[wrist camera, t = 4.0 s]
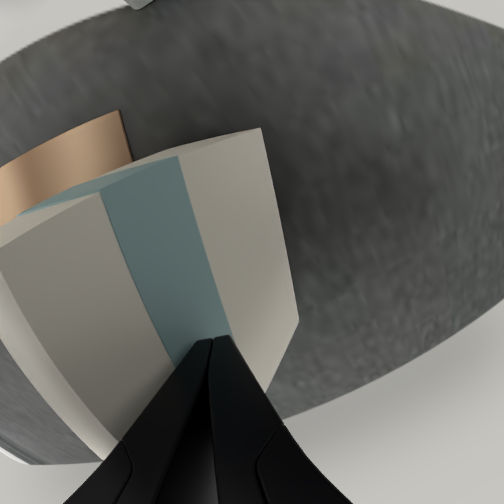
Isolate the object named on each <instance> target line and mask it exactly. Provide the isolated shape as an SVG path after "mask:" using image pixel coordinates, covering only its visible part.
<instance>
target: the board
mask: <svg viewBox="0 0 504 504" xmlns="http://www.w3.org/2000/svg"><path fill="white" fill-rule="evenodd" d="M132 162H133V159H132V155H131V152H130V148H129V145H128V141H127V137H126V134H125V130H124V126H123V122H122V118H121V115H120V111H119V110H116V111H113V112H111V113H108V114H106V115H103V116H101V117H99V118H96V119H94V120H92V121H89V122H87V123H85V124H82V125H80V126H78V127H76V128H74V129H71V130H69V131H67V132H65V133H63V134H61V135H59V136H57V137H55V138H53V139H51V140H49V141H47V142H45V143H43V144H41V145H39V146H37V147H36V148H34V149H32V150H30V151H28V152H26V153H25V154H23V155H21V156H19V157H18V158H16V159H14V160H13V161H11V162H9V163H7V164H6V165H4V166H3V167H1V168H0V227H1V226H2V225H4V224H6V223H7V222H9V221H11V220H13V219H14V218H16V217H17V216H16V215H18V214H20V213H22V212H23V211H25V210H27V209H29V208H31V207H33V206H35V205H37V204H39V203H40V202H42V201H44V200H46V199H48V198H50V197H52V196H54V195H56V194H58V193H60V192H62V191H65V190H67V189H69V188H71V187H73V186H75V185H78V184H81V183H84V182H87V181H90V180H92V179H94V178H96V177H99V176H101V175H103V174H106V173H108V172H110V171H113V170H115V169H117V168H120V167H122V166H125V165H127V164H130V163H132Z"/></svg>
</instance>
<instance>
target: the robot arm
mask: <svg viewBox="0 0 504 504" xmlns="http://www.w3.org/2000/svg"><path fill="white" fill-rule="evenodd" d="M63 504H353V503H352V502H351V501H350V500H348V498H346V497H345V496H344V495H343V494H342V493H341V492H340V491H339V490H338V489H337V488H336V487H335V486H334V485H333V484H332V483H331V482H330V481H329V480H328V479H327V478H326V477H325V476H324V475H323V474H322V473H321V472H320V471H319V469H318V468H317V467H316V466H315V465H314V464H313V463H312V462H311V461H310V459H309V458H308V457H307V456H306V455H305V453H304V452H303V450H302V449H301V448H300V447H299V445H298V444H297V442H296V441H295V440H294V438H293V437H292V435H291V434H290V432H289V430H288V429H287V427H286V426H285V425H284V423H283V421H282V420H281V418H280V417H279V415H278V413H277V412H276V410H275V409H274V407H273V405H272V404H271V402H270V401H269V399H268V397H267V396H266V394H265V393H264V391H263V389H262V388H261V386H260V384H259V383H258V381H257V379H256V378H255V376H254V374H253V373H252V371H251V369H250V368H249V366H248V364H247V363H246V361H245V359H244V358H243V356H242V354H241V353H240V351H239V349H238V347H237V346H236V344H235V342H234V340H233V339H232V337H231V336H230V335H229V334H227V335H222V336H217V337H215V338H214V339H213V338H206V339H201V340H197V341H196V342H195V343H194V344H193V346H192V347H191V348H190V350H189V351H188V352H187V354H186V355H185V356H184V358H183V359H182V360H181V362H180V363H179V364H178V366H177V367H176V368H175V369H174V371H173V372H172V373H171V375H170V376H169V377H168V379H167V380H166V381H165V383H164V384H163V385H162V386H161V388H160V389H159V390H158V392H157V393H156V394H155V396H154V397H153V398H152V400H151V401H150V402H149V403H148V405H147V406H146V407H145V409H144V410H143V411H142V413H141V414H140V415H139V416H138V418H137V419H136V420H135V422H134V423H133V424H132V426H131V427H130V428H129V429H128V431H127V432H126V433H125V435H124V436H123V437H122V440H120V441H119V442H118V443H117V445H116V446H115V447H114V449H113V450H112V451H111V452H110V454H109V455H108V456H107V457H106V459H105V460H104V461H103V462H102V463H101V465H100V466H99V467H98V468H97V469H96V470H95V471H94V473H93V474H92V475H91V476H90V477H89V478H88V479H87V480H86V481H85V482H84V483H83V484H82V485H81V486H80V487H79V488H78V489H77V490H76V491H75V492H74V493H73V494H72V495H71V496H70V497H69V498H68V499H67V500H66V501H65V502H64V503H63Z"/></svg>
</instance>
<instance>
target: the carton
mask: <svg viewBox="0 0 504 504" xmlns="http://www.w3.org/2000/svg"><path fill="white" fill-rule="evenodd" d="M16 216H17V217H16V218H14V219H13V220H11V221H9V222H7V223H6V224H4V225H2V226H1V227H0V339H1V341H2V342H3V344H4V345H5V347H6V348H7V350H8V351H9V353H10V354H11V356H12V357H13V359H14V360H15V361H16V363H17V364H18V366H19V367H20V368H21V370H22V371H23V373H24V374H25V375H26V377H27V378H28V379H29V381H30V382H31V383H32V384H33V386H34V387H35V388H36V390H37V391H38V392H39V393H40V394H41V396H42V397H43V398H44V399H45V401H46V402H47V403H48V404H49V405H50V406H51V408H52V409H53V410H54V411H55V412H56V413H57V414H58V416H59V417H60V418H61V419H62V420H63V421H64V422H65V423H66V424H67V425H68V426H69V428H70V429H71V430H72V431H73V432H74V433H75V434H76V435H77V436H78V437H79V438H80V439H81V440H82V441H83V442H84V443H85V444H86V445H87V446H88V447H89V448H90V449H91V450H92V451H94V452H95V453H96V454H97V455H98V456H99V457H100V458H101V459H102V460H103V461H104V460H105V459H106V457H107V456H108V455H109V454H110V452H111V451H112V450H113V449H114V447H115V446H116V445H117V443H118V442H119V441H120V440H122V437H123V436H124V435H125V433H126V432H127V431H128V429H129V428H130V427H131V426H132V424H133V423H134V422H135V420H136V419H137V418H138V416H139V415H140V414H141V413H142V411H143V410H144V409H145V407H146V406H147V405H148V403H149V402H150V401H151V400H152V398H153V397H154V396H155V394H156V393H157V392H158V390H159V389H160V388H161V386H162V385H163V384H164V383H165V381H166V380H167V379H168V377H169V376H170V375H171V373H172V372H173V371H174V369H175V368H176V367H177V366H178V364H179V363H180V362H181V360H182V359H183V358H184V356H185V355H186V354H187V352H188V351H189V350H190V348H191V347H192V346H193V344H194V343H195V342H196V341H197V340H201V339H206V338H213V339H214V338H215V337H217V336H222V335H227V334H229V335H230V336H231V337H232V339H233V340H234V342H235V344H236V346H237V347H238V349H239V351H240V353H241V354H242V356H243V358H244V359H245V361H246V363H247V364H248V366H249V368H250V369H251V371H252V373H253V374H254V376H255V378H256V379H257V381H258V383H259V384H260V386H261V388H262V389H263V391H264V393H265V392H266V390H267V388H268V386H269V384H270V382H271V380H272V378H273V376H274V374H275V372H276V370H277V368H278V366H279V364H280V362H281V359H282V357H283V355H284V353H285V351H286V349H287V347H288V345H289V342H290V340H291V338H292V336H293V334H294V331H295V329H296V327H297V325H298V323H299V316H298V311H297V305H296V300H295V294H294V289H293V283H292V278H291V272H290V267H289V262H288V256H287V251H286V246H285V241H284V236H283V231H282V226H281V221H280V216H279V211H278V206H277V201H276V196H275V191H274V187H273V182H272V177H271V173H270V168H269V163H268V159H267V154H266V150H265V145H264V141H263V136H262V132H261V128H256V129H251V130H246V131H241V132H236V133H231V134H227V135H222V136H218V137H213V138H209V139H205V140H201V141H197V142H193V143H189V144H185V145H181V146H177V147H173V148H170V149H167V150H164V151H161V152H158V153H156V154H153V155H150V156H148V157H145V158H142V159H140V160H137V161H135V162H132V163H130V164H127V165H125V166H122V167H120V168H117V169H115V170H113V171H110V172H108V173H106V174H103V175H101V176H99V177H96V178H94V179H92V180H90V181H87V182H84V183H81V184H78V185H75V186H73V187H71V188H69V189H67V190H65V191H62V192H60V193H58V194H56V195H54V196H52V197H50V198H48V199H46V200H44V201H42V202H40V203H39V204H37V205H35V206H33V207H31V208H29V209H27V210H25V211H23V212H22V213H20V214H18V215H16Z"/></svg>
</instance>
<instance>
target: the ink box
mask: <svg viewBox="0 0 504 504" xmlns="http://www.w3.org/2000/svg"><path fill="white" fill-rule="evenodd" d="M125 1H126V2H127V3H128V4H129V5H130V6H131V7H132V8H133V9H135V10H139V9H141V8H142V7H144V6H145V5H147V4H149V3H150V2H152V1H153V0H125Z"/></svg>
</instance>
